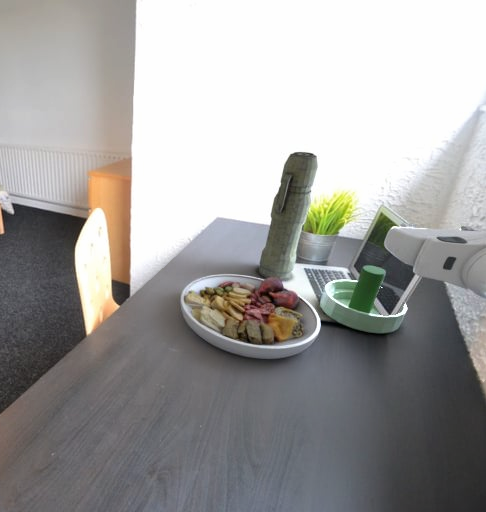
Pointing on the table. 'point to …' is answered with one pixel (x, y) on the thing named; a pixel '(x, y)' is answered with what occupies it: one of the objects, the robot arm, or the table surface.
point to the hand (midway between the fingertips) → (433, 228)
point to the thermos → (288, 215)
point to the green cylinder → (367, 288)
